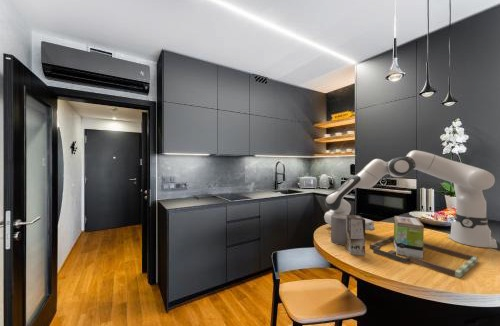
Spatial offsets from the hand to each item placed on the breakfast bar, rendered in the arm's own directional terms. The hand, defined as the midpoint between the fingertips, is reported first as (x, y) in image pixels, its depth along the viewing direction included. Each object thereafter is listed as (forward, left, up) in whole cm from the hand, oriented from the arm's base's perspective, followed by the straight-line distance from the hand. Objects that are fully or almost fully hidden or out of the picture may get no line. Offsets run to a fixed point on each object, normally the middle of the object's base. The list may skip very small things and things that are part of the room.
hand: (373, 229), depth 117 cm
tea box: (0, +16, -6) cm, 17 cm away
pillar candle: (+17, -8, -6) cm, 20 cm away
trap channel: (+2, +21, -6) cm, 22 cm away
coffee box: (+22, +3, -6) cm, 23 cm away
